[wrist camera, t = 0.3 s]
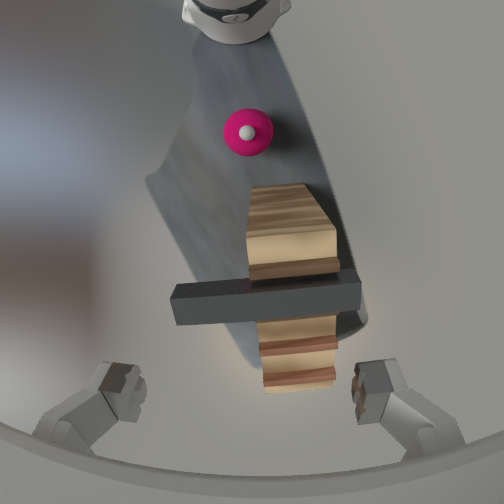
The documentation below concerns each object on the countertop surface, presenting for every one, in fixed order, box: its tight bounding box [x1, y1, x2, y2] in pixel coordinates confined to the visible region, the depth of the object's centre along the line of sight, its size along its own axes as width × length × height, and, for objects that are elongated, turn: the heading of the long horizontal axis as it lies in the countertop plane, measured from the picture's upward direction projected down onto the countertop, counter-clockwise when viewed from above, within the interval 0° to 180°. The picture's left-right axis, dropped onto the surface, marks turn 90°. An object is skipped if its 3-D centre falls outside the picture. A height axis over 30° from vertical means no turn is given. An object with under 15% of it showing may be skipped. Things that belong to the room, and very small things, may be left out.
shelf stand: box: [246, 183, 340, 394], centre depth 47 cm, size 22×9×28 cm, turn 6°
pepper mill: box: [223, 109, 274, 156], centre depth 43 cm, size 7×7×20 cm
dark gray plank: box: [170, 268, 362, 325], centre depth 32 cm, size 19×3×3 cm, turn 96°
